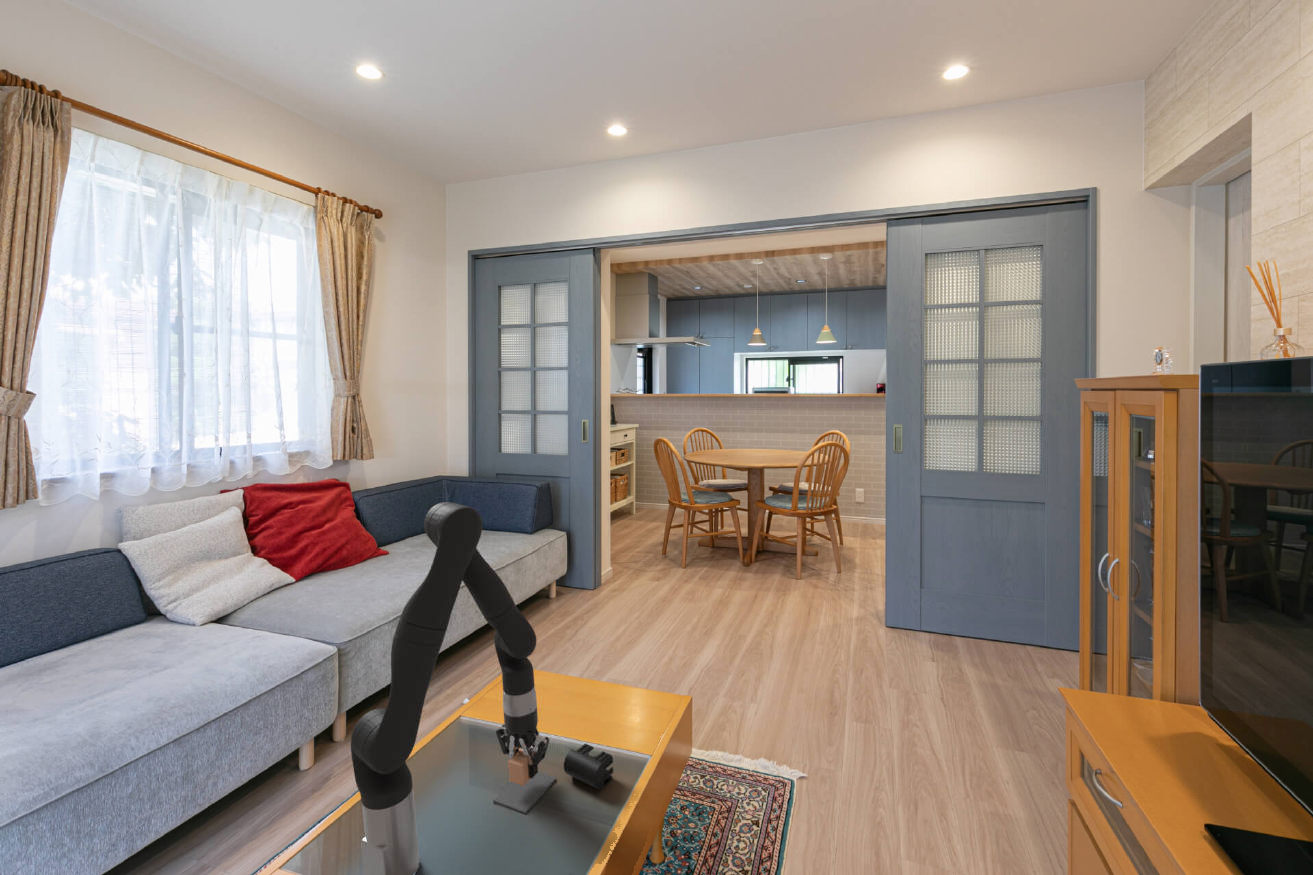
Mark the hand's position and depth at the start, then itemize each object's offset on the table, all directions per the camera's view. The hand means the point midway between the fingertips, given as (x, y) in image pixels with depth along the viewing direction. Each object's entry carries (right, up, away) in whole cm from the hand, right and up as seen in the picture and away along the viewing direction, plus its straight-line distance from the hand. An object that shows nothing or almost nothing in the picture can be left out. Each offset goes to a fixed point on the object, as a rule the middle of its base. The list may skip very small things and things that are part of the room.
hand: (524, 773), depth 144 cm
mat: (0, -4, 0) cm, 4 cm away
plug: (0, 0, +1) cm, 1 cm away
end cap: (+15, -4, +3) cm, 16 cm away
